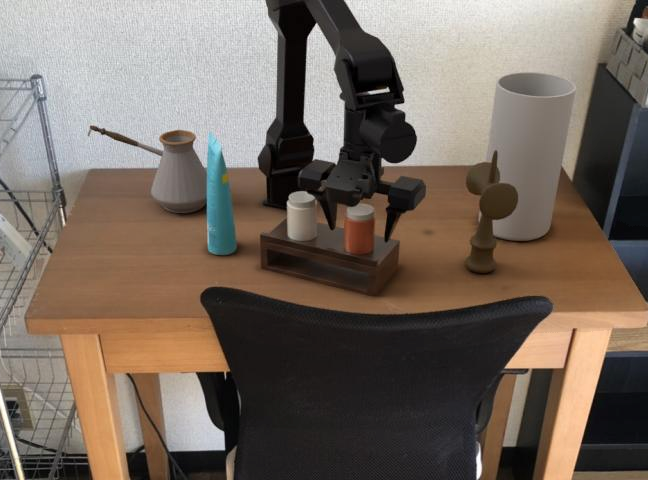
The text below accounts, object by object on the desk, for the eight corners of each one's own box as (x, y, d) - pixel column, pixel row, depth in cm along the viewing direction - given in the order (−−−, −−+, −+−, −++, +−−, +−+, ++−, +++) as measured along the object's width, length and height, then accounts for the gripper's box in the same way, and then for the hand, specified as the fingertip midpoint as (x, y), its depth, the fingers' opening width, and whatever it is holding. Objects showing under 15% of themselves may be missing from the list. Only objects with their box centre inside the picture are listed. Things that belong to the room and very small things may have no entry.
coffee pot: (217, 190, 161) (211, 113, 152) (212, 217, 152) (206, 136, 143) (105, 191, 161) (92, 113, 152) (93, 218, 152) (79, 137, 142)
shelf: (261, 268, 138) (259, 234, 134) (289, 242, 145) (288, 209, 141) (374, 296, 131) (376, 261, 127) (398, 268, 138) (400, 233, 134)
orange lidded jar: (338, 250, 132) (339, 212, 128) (351, 237, 136) (352, 200, 132) (366, 257, 131) (368, 218, 127) (378, 243, 134) (380, 206, 130)
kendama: (470, 283, 134) (485, 163, 122) (454, 254, 142) (467, 139, 130) (506, 281, 135) (525, 161, 123) (489, 252, 142) (505, 137, 130)
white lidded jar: (282, 237, 136) (281, 199, 132) (295, 225, 139) (295, 188, 135) (309, 243, 134) (308, 205, 130) (322, 231, 137) (322, 193, 133)
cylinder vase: (547, 213, 154) (572, 74, 139) (551, 245, 144) (579, 99, 129) (478, 208, 156) (495, 70, 141) (477, 240, 146) (496, 94, 131)
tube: (243, 255, 141) (237, 144, 129) (216, 261, 139) (207, 149, 128) (227, 236, 146) (220, 128, 135) (201, 242, 145) (191, 133, 133)
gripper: (280, 146, 120) (282, 244, 129) (403, 169, 113) (396, 271, 123) (314, 121, 128) (314, 215, 137) (431, 141, 121) (422, 239, 131)
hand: (359, 235), depth 132 cm, fingers open, 9 cm apart
